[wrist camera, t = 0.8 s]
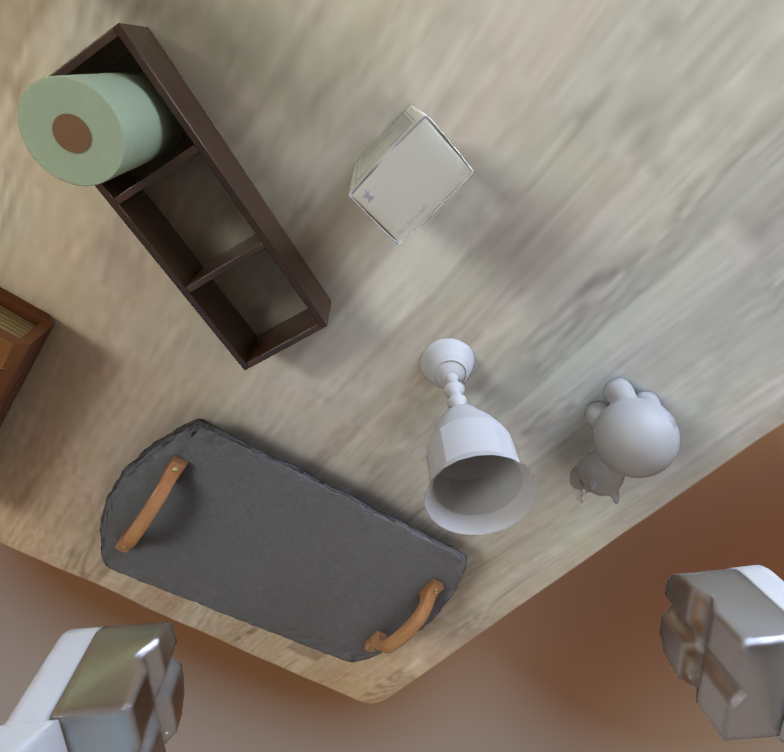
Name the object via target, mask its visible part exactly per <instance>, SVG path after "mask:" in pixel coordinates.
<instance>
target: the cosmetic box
mask: <svg viewBox="0 0 784 752" xmlns="http://www.w3.org/2000/svg"><path fill="white" fill-rule="evenodd" d="M473 172H474V171H473V169H472V168H471V167H470V166H469V164H468V163H467V162H466V161H465V159H464V158H463V157H462V155H461V154H460V153H459V152H458V150H457V149H456V148H455V147H454V145H453V144H452V143H451V142H450V141H449V139H448V138H447V137H446V136H445V135H444V133H443V132H442V131H441V130H440V129H439V127H438V126H437V125H436V124H435V123H434V122H433V121H432V119H431V118H430V117H429V116H428V115H426V114H424V113H423V112H422V111H420V110H418V109H417V108H416V107H414V106H412V105H410V106H409V107H408V108H407V109H406V110H405V111H404V112H403V113H402V114H401V115H400V116H399V117H398V118H397V119H396V120H395V121H394V122H393V123H392V124H391V125H390V126H389V127H388V128H387V129H386V130H385V131H384V132H383V133H382V134H381V135H380V136H379V137H378V139H377V140H376V141H375V142H374V143H373V144H372V145H371V146H370V147H369V148H368V149H367V150H366V151H365V153H364V154H363V155H362V156H361V157H360V158H359V159H358V160H357V161H356V163H355V164H354V168H353V174H352V180H351V185H350V191H349V196H350V197H351V198H352V199H353V200H354V201H355V202H356V203H357V205H358V206H359V207H360V208H361V209H362V210H363V211H364V212H365V213H366V214H367V215H368V216H369V217H370V218H371V219H372V220H373V221H374V222H375V223H376V224H377V225H378V226H379V227H380V228H381V229H382V230H383V231H384V232H385V233H386V234H387V235H388V236H389V237H391V238H392V239H393V240H394V241H395V242H396V243H397V244H401V243H402V242H403V241H405V240H406V239H407V238H408V237H409V236H410V235H411V234H413V233H414V232H415V231H416V230H417V229H418V228H419V227H420V226H421V225H422V224H423V223H424V222H425V221H426V220H428V219H429V218H430V217H431V216H432V215H433V214H434V213H435V212H436V211H437V210H438V209H439V208H440V207H441V206H442V205H443V204H444V203H445V202H446V201H447V200H448V199H449V198H450V197H451V196H452V195H453V194H454V193H455V192H456V191H457V190H458V189H459V188H460V187H461V186H462V185H463V184H464V183H465V182H466V181H467V180H468V179H469V177H470V176H471V175H472V174H473Z"/></svg>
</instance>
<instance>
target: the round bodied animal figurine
mask: <svg viewBox="0 0 784 752" xmlns="http://www.w3.org/2000/svg"><path fill="white" fill-rule="evenodd" d="M603 394H604V397H605V399H606V400H607V401H608V402H609V405H608V404H607V403H606V402H603V401H597V402H593V403H591V404H589V405H588V406H587V407H586V409H585V412H584V416H585V419H586V421H587V423H588V424H589V425H590V426H591V427H592V428H594V430H593V442H594V446H595V449H596V451H594V452H590V453H588V454H586V455H585V456H584V457H583V458H582V459H581V460H580V462H579V465H577V466H575V467H574V468H573V469H572V470H571V472H570V484H571V485H572V486H573V487H574V493H575V497H576V499H577V500H578V501H579V502H581V503H583V501H582V496H583V494H586V492H592V493H594V494H596V495H599V496H608V495H609V496H611V497H612V499H613V501H614V502H615V503H616V504H618V502H619V492H618V490H619V488H620V487H621V485H622V483H623V480H624V477H625V476H628V477H633V478H644V477H649V476H653V475H656V474H658V473H660V472H662V471H663V470H665V469H666V468H667V467H668V466H669V465H670V464H671V463H672V462H673V460H674V459H675V457H676V455H677V453H678V450H679V446H680V433H679V429H678V426H677V424H676V422H675V418H674V417H673V416H672V415H671V414H670V413H669V412H668V411H667V410H666V409H665V408H664V407H662V406H661V402H660V400H659V398H658V397H657V396H656V395H655V394H654V393H652V392H640V393H638V394H636V393H635V391H634V389H633V387H632V386H631V384H630V383H629V382H628V381H627V380H625V379H623V378H616V379H613V380H611V381H609V382H608V383H607V384H606V385H605V386H604V389H603Z"/></svg>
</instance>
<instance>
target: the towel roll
mask: <svg viewBox="0 0 784 752" xmlns="http://www.w3.org/2000/svg"><path fill="white" fill-rule="evenodd" d="M18 123H19V129H20V133H21V136H22V138H23V141H24V143H25V145H26V147H27V149H28V150H29V152H30V153H31V155H32V156H33V157H34V159H35V160H36V161H37V162H38V163H39V164H40V165H41V166H42V167H43V168H44V169H45V170H46V171H48V172H49V173H50V174H52V175H53V176H55V177H57V178H58V179H60V180H63V181H65V182H67V183H70V184H74V185H79V186H93V185H98V184H101V183H103V182H106V181H108V180H110V179H112V178H114V177H117V176H119V175H121V174H123V173H125V172H127V171H129V170H132V169H134V168H136V167H138V166H140V165H142V164H145V163H147V162H149V161H151V160H153V159H155V158H158V157H160V156H162V155H164V154H166V153H168V152H169V151H171V150H172V149H173V148H174V147H175V146H176V145H177V143H178V142H179V139H180V137H181V134H182V129H183V128H182V126H181V125H180V123H179V122H178V120H177V119H176V118H175V116H174V115H173V113H172V112H171V110H170V109H169V107H168V106H167V105H166V103H165V102H164V100H163V99H162V97H161V96H160V95H159V93H158V92H157V90H156V89H155V87H154V86H153V84H152V83H151V82H150V80H149V79H148V77H147V76H146V74H145V73H142V72H117V73H98V74H79V75H60V76H49V77H44V78H42V79H39V80H37V81H36V82H34V83H33V84H32V85H30V86H29V87H28V88H27V90H26V91H25V92H24V94H23V96H22V98H21V101H20V104H19V109H18Z"/></svg>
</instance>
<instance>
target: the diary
mask: <svg viewBox="0 0 784 752" xmlns="http://www.w3.org/2000/svg"><path fill="white" fill-rule="evenodd" d="M53 325H54V324H53V321H52V319H51V317H50V315H49V314H47V313H45V312H43V311H41V310H40V309H38V308H36V307H34V306H33V305H31V304H29V303H27V302H25V301H24V300H22V299H20V298H18V297H16V296H15V295H13V294H11V293H9V292H8V291H6V290H4V289H2V288H0V426H1V424H2V422H3V420H4V418H5V416H6V414H7V412H8V410H9V409H10V407H11V405H12V403H13V401H14V399H15V397H16V395H17V393H18V391H19V390H20V388H21V386H22V384H23V382H24V380H25V378H26V376H27V374H28V373H29V371H30V369H31V367H32V365H33V363H34V361H35V359H36V357H37V356H38V354H39V352H40V350H41V348H42V346H43V344H44V342H45V340H46V339H47V337H48V335H49V333H50V331H51V329H52V327H53Z"/></svg>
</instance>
